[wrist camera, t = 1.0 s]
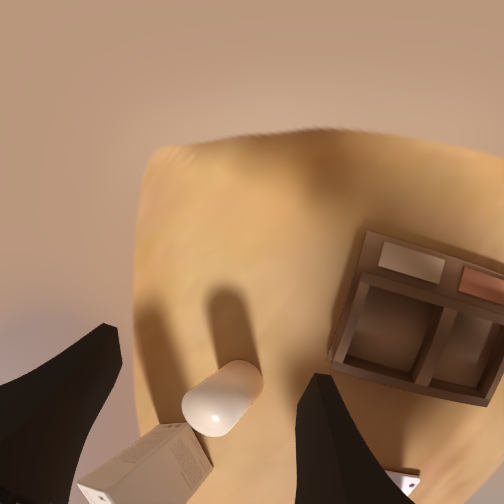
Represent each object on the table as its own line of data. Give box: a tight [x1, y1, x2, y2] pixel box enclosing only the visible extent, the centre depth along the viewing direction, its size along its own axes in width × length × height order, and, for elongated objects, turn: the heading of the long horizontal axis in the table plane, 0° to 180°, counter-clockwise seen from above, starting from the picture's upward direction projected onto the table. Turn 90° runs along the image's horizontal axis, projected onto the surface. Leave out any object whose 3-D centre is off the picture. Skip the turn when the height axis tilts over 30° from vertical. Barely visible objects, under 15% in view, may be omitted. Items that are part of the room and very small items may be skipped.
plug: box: [182, 360, 264, 437], centre depth 19 cm, size 4×4×6 cm
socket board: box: [326, 230, 504, 407], centre depth 16 cm, size 9×13×3 cm
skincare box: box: [76, 422, 213, 504], centre depth 18 cm, size 6×4×12 cm
